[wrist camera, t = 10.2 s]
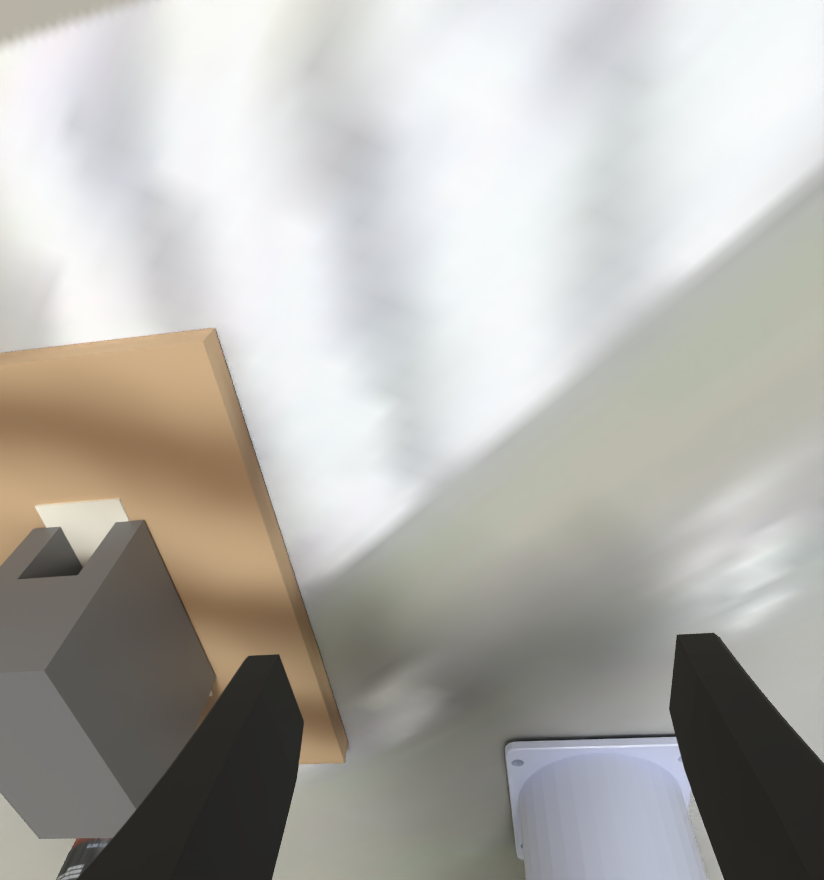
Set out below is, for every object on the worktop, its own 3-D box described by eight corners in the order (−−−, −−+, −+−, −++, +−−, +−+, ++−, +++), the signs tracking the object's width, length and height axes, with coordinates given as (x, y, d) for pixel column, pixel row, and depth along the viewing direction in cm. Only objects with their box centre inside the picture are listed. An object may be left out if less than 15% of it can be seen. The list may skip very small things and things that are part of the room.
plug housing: (215, 677, 25) (154, 837, 20) (121, 681, 26) (39, 838, 21) (143, 520, 21) (44, 670, 16) (33, 528, 22) (-97, 677, 17)
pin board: (347, 741, 29) (337, 809, 26) (102, 749, 30) (69, 813, 28) (214, 327, 19) (176, 372, 16) (-148, 370, 20) (-235, 417, 18)
